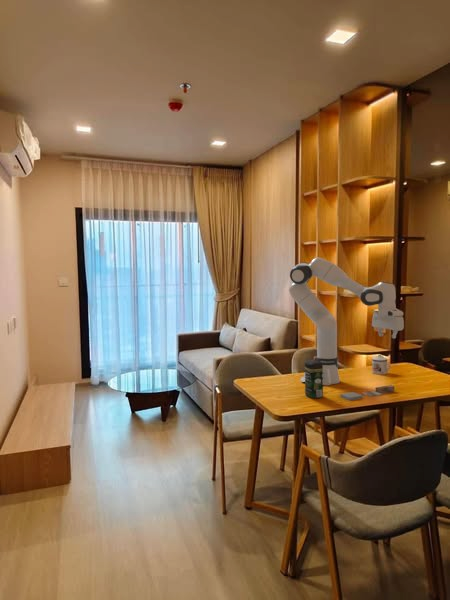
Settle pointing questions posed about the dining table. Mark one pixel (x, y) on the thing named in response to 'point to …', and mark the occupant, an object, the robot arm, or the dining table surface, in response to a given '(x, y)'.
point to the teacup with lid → (380, 365)
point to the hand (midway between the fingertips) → (387, 337)
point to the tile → (351, 396)
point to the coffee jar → (313, 379)
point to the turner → (379, 391)
